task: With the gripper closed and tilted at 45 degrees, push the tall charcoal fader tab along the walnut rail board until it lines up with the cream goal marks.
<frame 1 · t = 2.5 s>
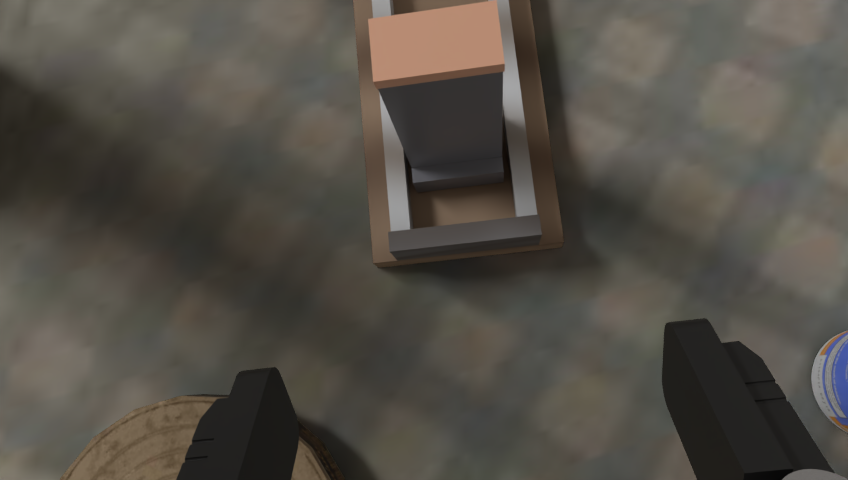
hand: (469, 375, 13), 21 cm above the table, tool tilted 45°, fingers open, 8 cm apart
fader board: (448, 72, 37), on the table
fader tab: (447, 107, 29), point 8 cm above the table, slide at -5.5 cm
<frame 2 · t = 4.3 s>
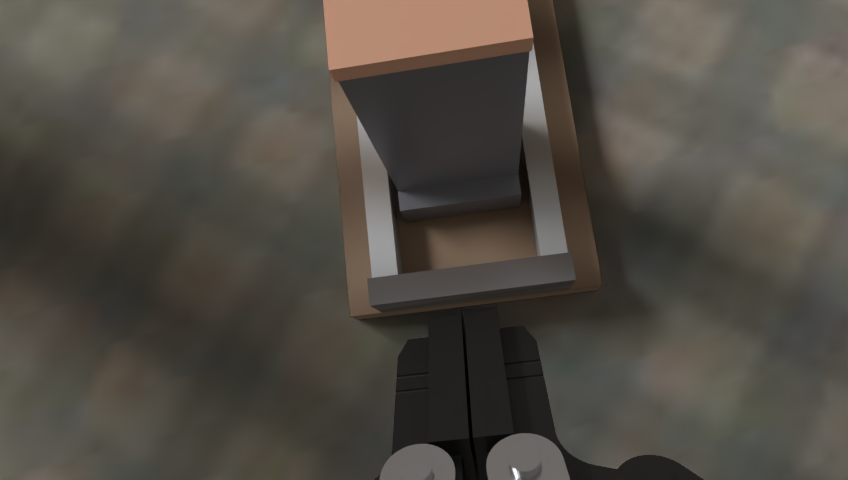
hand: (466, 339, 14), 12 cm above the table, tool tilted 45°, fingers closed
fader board: (444, 65, 29), on the table
fader tab: (444, 109, 21), point 8 cm above the table, slide at -5.5 cm
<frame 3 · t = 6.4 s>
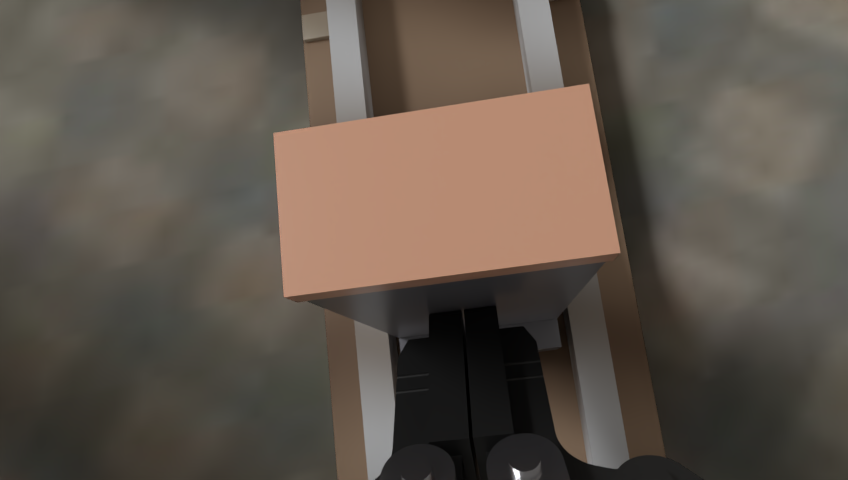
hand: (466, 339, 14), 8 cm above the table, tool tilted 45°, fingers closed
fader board: (460, 177, 23), on the table
fader tab: (463, 262, 15), point 8 cm above the table, slide at -4.5 cm, touching gripper
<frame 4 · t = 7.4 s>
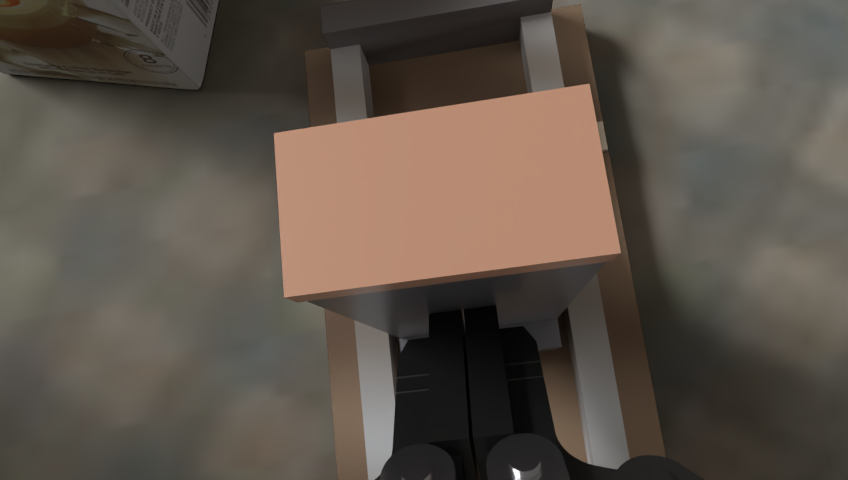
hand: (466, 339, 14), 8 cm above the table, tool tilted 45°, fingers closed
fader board: (481, 338, 22), on the table
fader tab: (463, 262, 15), point 8 cm above the table, slide at 1.3 cm, touching gripper
coffee box: (120, 18, 27), on the table
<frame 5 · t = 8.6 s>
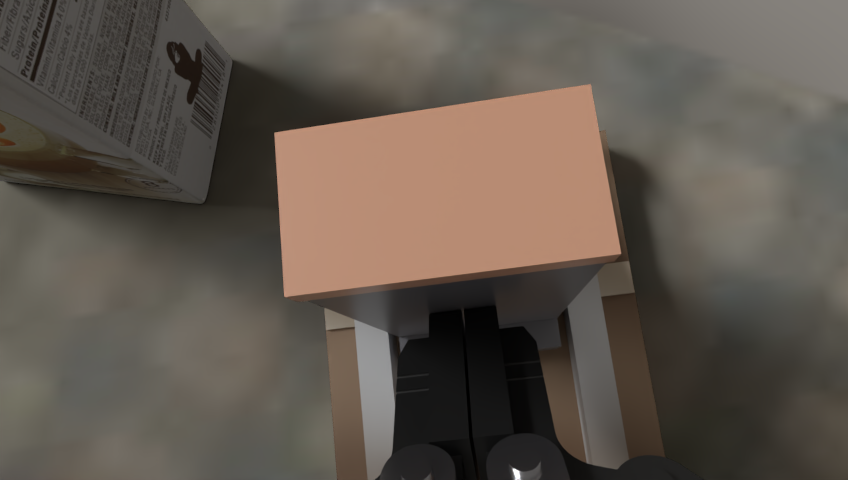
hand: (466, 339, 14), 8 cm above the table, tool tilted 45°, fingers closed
fader tab: (463, 262, 15), point 8 cm above the table, slide at 6.1 cm, touching gripper
coffee box: (121, 122, 26), on the table
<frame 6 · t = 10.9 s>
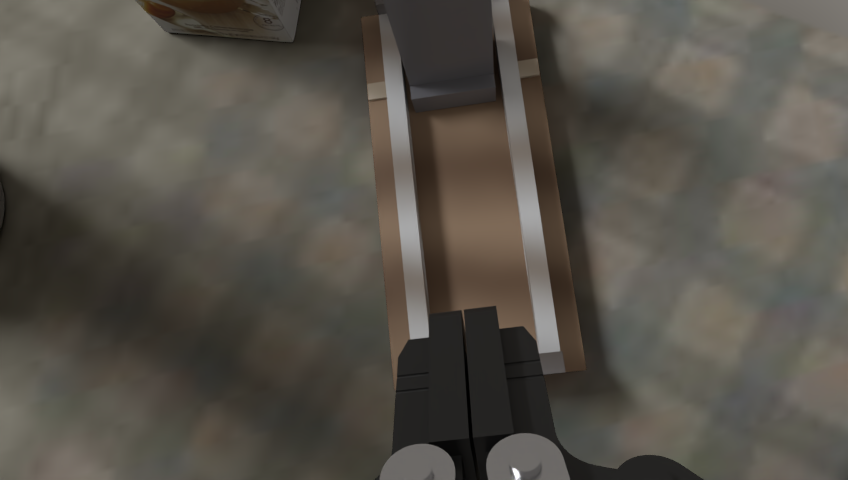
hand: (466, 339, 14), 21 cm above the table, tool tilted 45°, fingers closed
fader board: (465, 187, 37), on the table
fader tab: (442, 19, 31), point 8 cm above the table, slide at 6.3 cm
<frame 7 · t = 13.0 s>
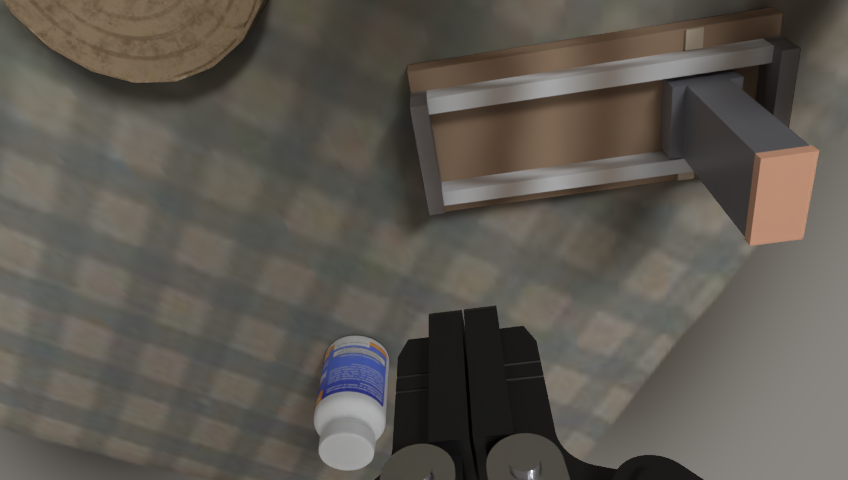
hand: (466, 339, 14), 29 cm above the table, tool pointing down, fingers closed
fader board: (587, 113, 42), on the table
pill bottle: (358, 356, 54), on the table
fader tab: (732, 147, 35), point 8 cm above the table, slide at 6.3 cm
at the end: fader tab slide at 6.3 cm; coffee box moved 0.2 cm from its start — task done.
